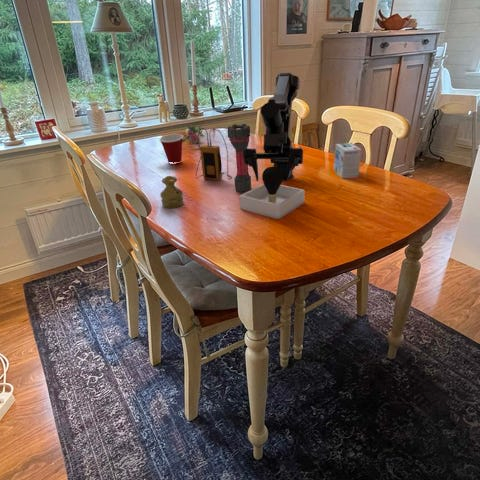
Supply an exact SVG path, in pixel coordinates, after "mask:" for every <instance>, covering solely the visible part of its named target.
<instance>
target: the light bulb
mask: <svg viewBox="0 0 480 480" xmlns="http://www.w3.org/2000/svg"><path fill="white" fill-rule="evenodd" d="M261 174H262V175H261V178H262V179H261V180H262V184H264V185H265V187H266V189H267V191H268V202H271V203H275V202H276V192H277V190H278V189H279V187H280V185H282V183H283V182H284V180H283V173H282V171H281V169H279V168H278V167H274V166H269V167H266V168H265V169H264V170H263V171H262V173H261Z"/></svg>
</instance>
